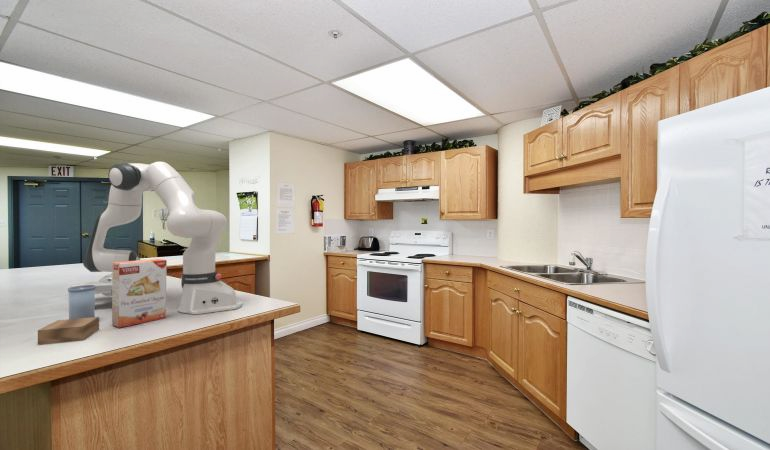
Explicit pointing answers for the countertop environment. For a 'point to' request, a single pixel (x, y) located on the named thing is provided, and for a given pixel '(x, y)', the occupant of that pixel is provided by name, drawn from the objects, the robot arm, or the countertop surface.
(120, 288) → the cracker box
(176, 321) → the countertop surface
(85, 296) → the canister
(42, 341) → the plinth
